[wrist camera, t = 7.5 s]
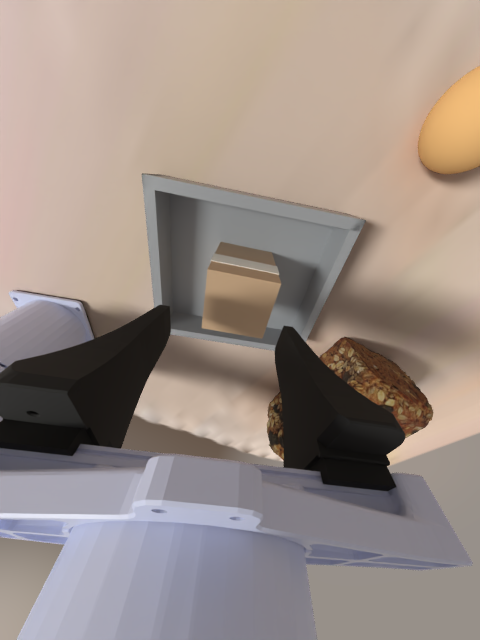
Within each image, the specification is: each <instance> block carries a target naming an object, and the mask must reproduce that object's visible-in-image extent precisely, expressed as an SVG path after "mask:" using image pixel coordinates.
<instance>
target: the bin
mask: <svg viewBox="0 0 480 640" xmlns="http://www.w3.org/2000/svg"><path fill="white" fill-rule="evenodd" d="M142 182H143V193H144V203H145V214H146V224H147V235H148V246H149V256H150V267H151V277H152V288H153V298H154V308H155V307H157V306H158V305H165V306H170V321H171V333H170V334H171V335H177V336H184V337H190V338H196V339H203V340H209V341H215V342H222V343H228V344H234V345H241V346H247V347H254V348H260V349H266V350H273V351H275V347H276V344H277V342H278V339H279V336H280V334H281V331H282V329H283V326H290V327H293V328H294V329H295V330H296V331H297V332H298V334H299V335H300V336H301V337H302V339H303V340H304V341H305V342H306V340H307V338H308V336H309V334H310V332H311V330H312V328H313V326H314V324H315V322H316V320H317V318H318V316H319V314H320V312H321V310H322V308H323V306H324V304H325V302H326V300H327V298H328V296H329V294H330V292H331V290H332V288H333V286H334V284H335V282H336V280H337V278H338V276H339V274H340V271H341V269H342V267H343V265H344V263H345V261H346V259H347V257H348V255H349V253H350V251H351V249H352V247H353V245H354V243H355V241H356V239H357V237H358V235H359V233H360V231H361V229H362V227H363V225H364V223H365V221H366V220H363V219H360V218H357V217H355V216H352V215H349V214H346V213H341V212H336V211H332V210H327V209H322V208H317V207H313V206H308V205H303V204H298V203H294V202H289V201H284V200H279V199H275V198H270V197H265V196H260V195H256V194H251V193H246V192H241V191H237V190H232V189H227V188H222V187H218V186H213V185H208V184H203V183H199V182H194V181H189V180H184V179H180V178H175V177H170V176H165V175H159V174H142ZM220 242H225V243H230V244H234V245H239V246H244V247H248V248H253V249H258V250H263V251H267V252H272V254H273V258H274V261H275V264H276V266H277V268H278V271H279V278H280V281H281V286H280V289H279V292H278V295H277V298H276V301H275V304H274V306H273V309H272V312H271V315H270V318H269V321H268V324H267V327H266V330H265V333H264V335H263V338H262V339H261V338H255V337H249V336H244V335H238V334H232V333H227V332H221V331H215V330H210V329H204V328H202V319H203V309H204V299H205V289H206V279H207V269H208V267H209V265H210V263H211V259H212V257H213V254H214V253H215V252H216V250H217V248H218V246H219V244H220Z"/></svg>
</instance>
